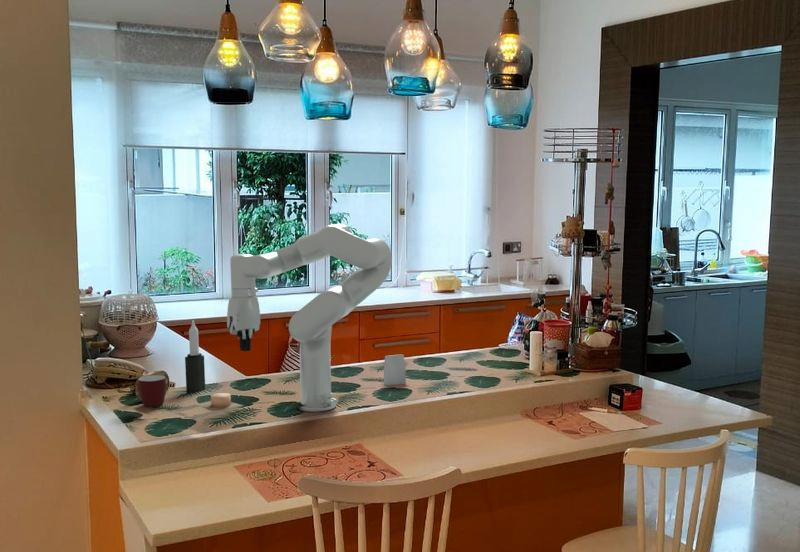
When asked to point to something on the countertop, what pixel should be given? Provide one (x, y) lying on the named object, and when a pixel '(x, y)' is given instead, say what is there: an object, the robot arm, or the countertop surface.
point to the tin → (150, 375)
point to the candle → (194, 364)
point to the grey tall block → (394, 370)
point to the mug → (152, 390)
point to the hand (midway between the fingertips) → (245, 350)
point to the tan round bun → (221, 400)
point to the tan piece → (208, 405)
